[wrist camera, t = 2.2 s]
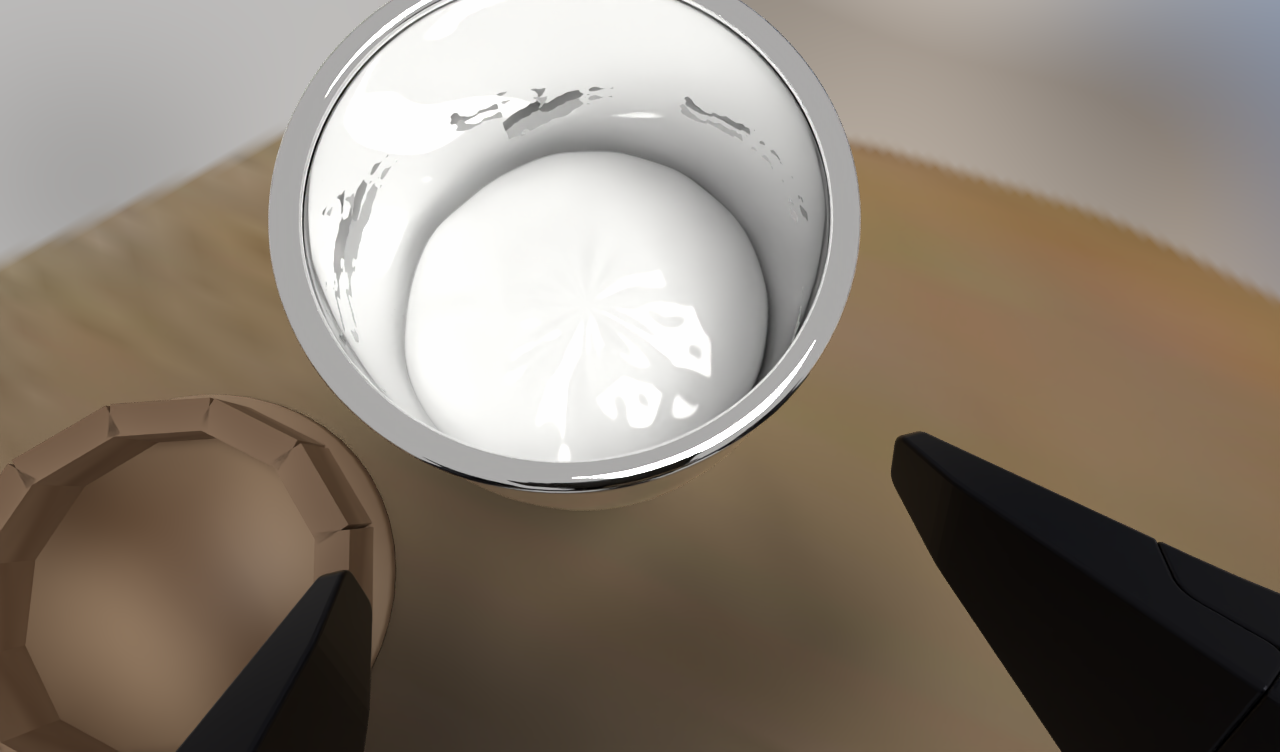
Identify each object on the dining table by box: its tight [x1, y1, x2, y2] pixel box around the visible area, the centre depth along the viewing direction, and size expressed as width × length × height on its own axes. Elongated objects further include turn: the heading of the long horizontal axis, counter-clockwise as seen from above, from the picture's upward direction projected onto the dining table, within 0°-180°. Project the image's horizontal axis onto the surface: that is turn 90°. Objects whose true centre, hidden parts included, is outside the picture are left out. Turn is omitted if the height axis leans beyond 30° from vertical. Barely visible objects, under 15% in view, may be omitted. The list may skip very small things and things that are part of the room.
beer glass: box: [268, 0, 861, 511], centre depth 14 cm, size 7×7×15 cm
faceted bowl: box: [0, 395, 396, 752], centre depth 18 cm, size 12×12×2 cm
